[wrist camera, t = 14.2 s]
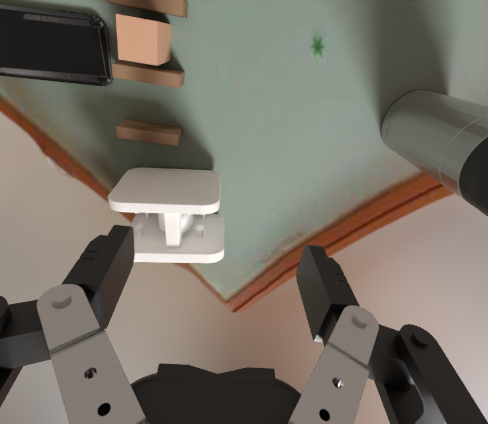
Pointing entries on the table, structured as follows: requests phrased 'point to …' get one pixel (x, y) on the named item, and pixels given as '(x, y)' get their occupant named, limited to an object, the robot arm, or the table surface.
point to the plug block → (143, 40)
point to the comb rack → (150, 79)
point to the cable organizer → (172, 214)
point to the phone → (54, 46)
